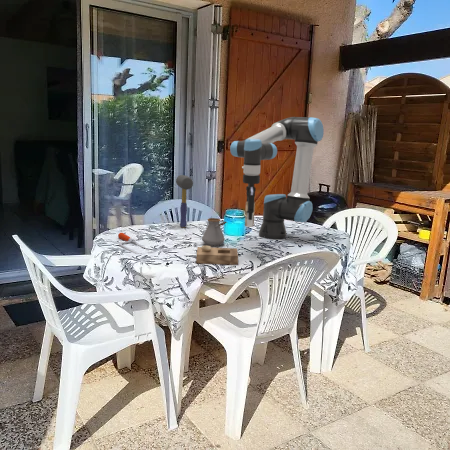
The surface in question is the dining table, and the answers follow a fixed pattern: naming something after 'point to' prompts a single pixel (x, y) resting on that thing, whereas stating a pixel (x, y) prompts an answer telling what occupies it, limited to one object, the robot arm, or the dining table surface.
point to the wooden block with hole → (217, 255)
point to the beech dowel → (246, 214)
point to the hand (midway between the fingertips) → (249, 225)
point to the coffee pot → (213, 233)
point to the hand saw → (128, 240)
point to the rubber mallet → (184, 196)
